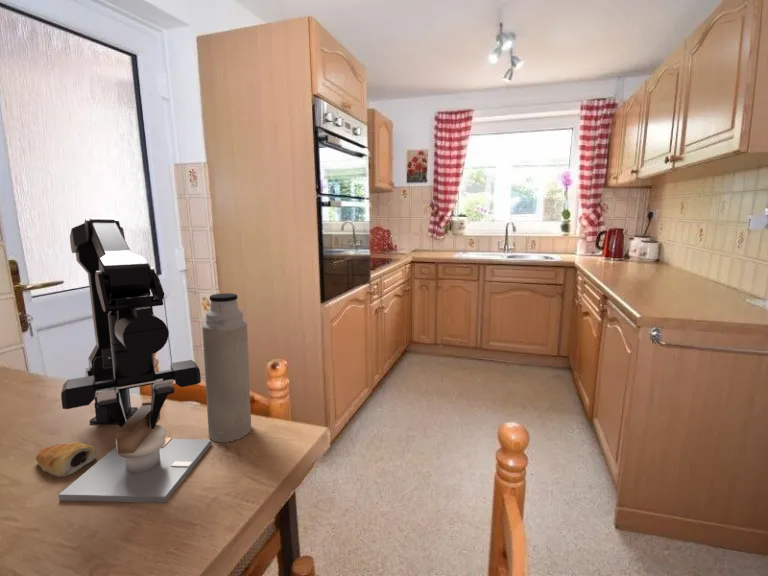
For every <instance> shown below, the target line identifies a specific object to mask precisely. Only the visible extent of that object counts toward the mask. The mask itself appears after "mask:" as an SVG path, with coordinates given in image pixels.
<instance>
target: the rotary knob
mask: <svg viewBox="0 0 768 576" xmlns="http://www.w3.org/2000/svg"><path fill="white" fill-rule="evenodd" d="M150 413H151V398H145V399H144V400H143V401H142V403H141V406H139V408H138V410H137V411H136V412H135V413H133V414H132V415H131V416H129V417H128V418H127V420H126V421H127V422H126V423H125V424H124V425H123V426H122V427H120V428H119V429H117V431H116V432H115V436H116V438H115V445H116V446H117V454H118V455H119V456H121V457H124V458H136V457H142V456H145V455H148V454H151V453H153V452H155V451H157V450H159V449H160V448H161V447H163V445H164V444H165V442H166V440H165V438H166V430H165V427H164V426H162V425H159V424H158V422H159V421H160V420H161V412H160V413H159V416H158V419H157V422H156V425H155V428H154V429H151V422H150ZM116 446H115V447H116Z"/></svg>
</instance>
